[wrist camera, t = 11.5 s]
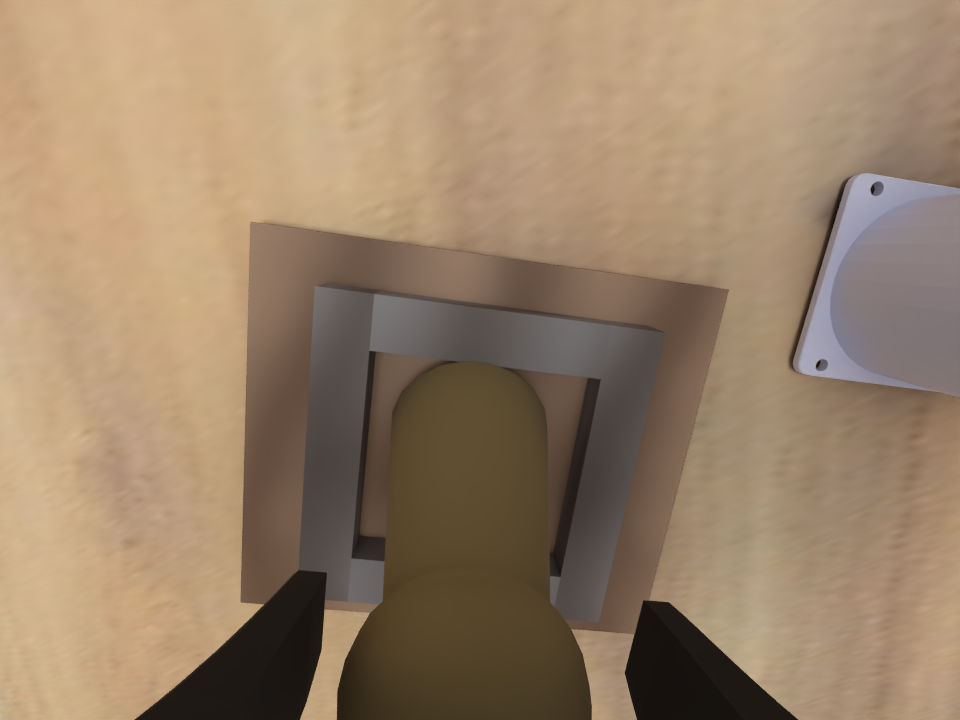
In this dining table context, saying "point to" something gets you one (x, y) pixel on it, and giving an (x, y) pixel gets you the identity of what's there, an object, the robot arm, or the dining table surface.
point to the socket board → (450, 339)
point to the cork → (466, 564)
